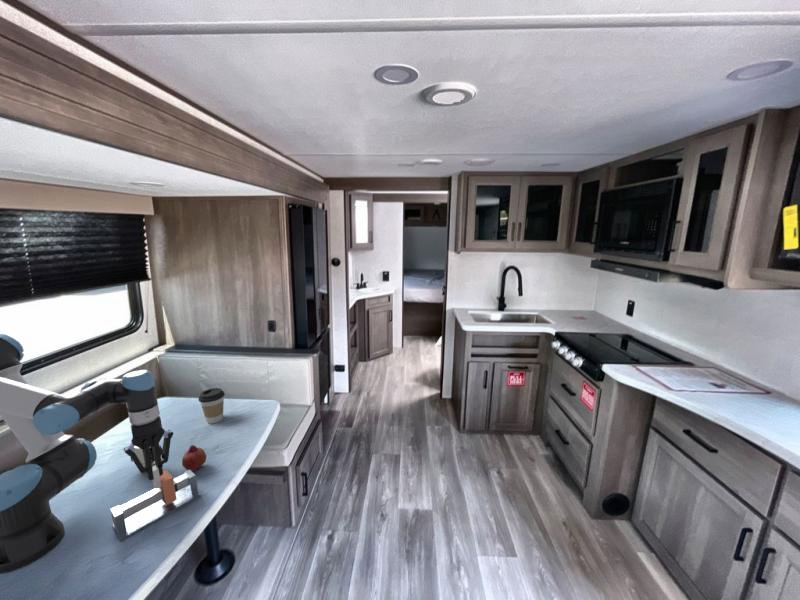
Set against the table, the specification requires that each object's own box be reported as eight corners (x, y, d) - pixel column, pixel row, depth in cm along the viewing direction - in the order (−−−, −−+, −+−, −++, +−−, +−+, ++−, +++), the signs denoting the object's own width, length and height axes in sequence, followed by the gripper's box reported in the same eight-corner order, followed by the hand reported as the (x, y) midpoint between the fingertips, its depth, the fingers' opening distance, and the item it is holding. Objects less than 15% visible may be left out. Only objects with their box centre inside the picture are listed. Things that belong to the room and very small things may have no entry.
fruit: (181, 478, 125) (177, 454, 123) (185, 465, 132) (182, 442, 130) (206, 472, 128) (202, 448, 126) (208, 459, 135) (205, 437, 133)
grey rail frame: (120, 542, 98) (116, 520, 97) (112, 526, 104) (108, 505, 102) (200, 496, 115) (198, 477, 114) (190, 485, 121) (187, 467, 120)
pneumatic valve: (155, 475, 127) (150, 447, 125) (130, 471, 129) (125, 444, 127) (168, 465, 132) (163, 438, 130) (143, 462, 134) (138, 435, 132)
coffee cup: (212, 413, 172) (208, 386, 169) (232, 414, 170) (229, 387, 168) (196, 425, 161) (192, 396, 158) (217, 427, 159) (213, 397, 157)
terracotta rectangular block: (166, 505, 108) (162, 482, 107) (159, 496, 112) (155, 474, 111) (176, 499, 111) (173, 477, 109) (169, 491, 114) (165, 469, 113)
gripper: (122, 433, 97) (136, 503, 101) (173, 414, 107) (184, 479, 111) (115, 424, 101) (129, 492, 106) (165, 407, 112) (175, 470, 116)
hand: (157, 485), depth 108 cm, fingers closed
